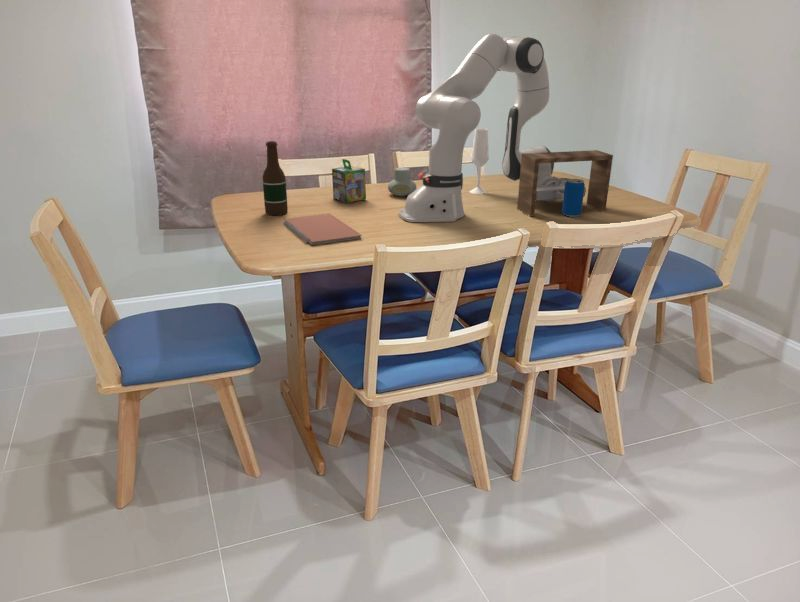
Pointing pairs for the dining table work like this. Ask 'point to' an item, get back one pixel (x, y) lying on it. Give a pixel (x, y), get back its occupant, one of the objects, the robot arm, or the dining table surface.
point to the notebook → (321, 229)
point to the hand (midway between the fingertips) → (568, 197)
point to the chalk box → (348, 183)
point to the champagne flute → (480, 154)
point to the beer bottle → (274, 183)
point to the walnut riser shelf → (598, 167)
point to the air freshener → (402, 183)
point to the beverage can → (573, 197)
